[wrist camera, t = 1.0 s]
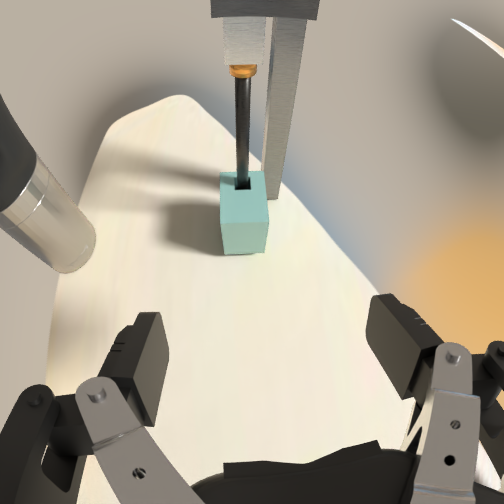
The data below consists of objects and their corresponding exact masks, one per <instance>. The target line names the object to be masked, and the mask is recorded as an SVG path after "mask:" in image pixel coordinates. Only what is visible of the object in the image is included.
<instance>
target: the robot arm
mask: <svg viewBox="0 0 504 504" xmlns="http://www.w3.org/2000/svg"><path fill="white" fill-rule="evenodd" d="M0 228H2V229H3V230H4V231H5V232H6V233H8V234H9V235H10V236H11V237H12V238H14V239H15V240H16V241H18V242H19V243H20V244H22V245H23V246H24V247H25V248H26V249H28V250H29V251H30V252H32V253H33V254H34V255H36V256H37V257H38V258H40V259H41V260H42V261H44V262H45V263H46V264H48V265H49V266H51V267H52V268H53V269H55V270H56V271H58V272H60V273H71V272H73V271H76V270H78V269H79V268H81V267H82V266H83V265H84V264H85V263H86V262H87V260H88V259H89V258H90V256H91V254H92V252H93V250H94V247H95V241H96V234H95V230H94V227H93V226H92V224H91V223H90V222H89V221H88V219H87V218H86V217H85V216H84V215H83V213H82V212H81V211H80V209H79V208H78V207H77V206H76V205H75V203H74V202H73V201H72V200H71V198H70V197H69V196H68V195H67V193H66V192H65V191H64V189H63V188H62V187H61V185H60V184H59V183H58V182H57V180H56V179H55V178H54V176H53V175H52V174H51V172H50V171H49V170H48V168H47V167H46V166H45V164H44V163H43V162H42V160H41V159H40V157H39V156H38V155H37V153H36V152H35V150H34V149H33V147H32V146H31V145H30V143H29V142H28V140H27V139H26V138H25V136H24V134H23V133H22V131H21V130H20V128H19V127H18V125H17V123H16V122H15V121H14V119H13V117H12V115H11V114H10V112H9V110H8V108H7V106H6V105H5V103H4V101H3V99H2V96H1V95H0ZM366 339H367V342H368V344H369V346H370V348H371V349H372V351H373V353H374V354H375V356H376V357H377V359H378V361H379V362H380V364H381V366H382V367H383V369H384V371H385V372H386V374H387V376H388V377H389V379H390V381H391V382H392V384H393V386H394V387H395V389H396V391H397V392H398V394H399V396H400V398H401V399H402V400H404V399H407V398H411V397H414V398H415V402H414V404H413V407H412V411H411V415H410V419H409V422H408V426H407V429H406V433H405V436H404V439H403V442H402V445H401V448H400V450H396V449H381V448H380V446H379V443H378V441H377V440H374V441H371V442H367V443H363V444H359V445H355V446H351V447H347V448H342V449H340V450H338V451H336V452H334V453H331V454H329V455H327V456H324V457H322V458H320V459H317V460H315V461H312V462H310V463H306V464H296V463H282V462H271V461H252V462H235V463H223V467H224V473H220V474H216V475H213V476H210V477H207V478H205V479H203V480H200V481H199V482H197V483H195V484H193V485H192V486H189V485H188V484H187V483H186V481H185V480H184V479H183V478H182V477H181V475H180V474H179V473H178V472H177V471H176V469H175V468H174V467H173V465H172V464H171V463H170V462H169V460H168V459H167V458H166V456H165V455H164V454H163V452H162V451H161V450H160V448H159V447H158V446H157V444H156V443H155V441H154V440H153V439H152V437H151V436H150V434H149V433H148V431H147V430H146V429H145V427H144V426H148V427H154V425H155V420H156V415H157V411H158V406H159V401H160V397H161V392H162V388H163V383H164V379H165V375H166V370H167V366H168V362H169V347H168V342H167V338H166V334H165V330H164V326H163V321H162V317H161V314H160V313H159V312H140V313H139V314H138V316H137V318H136V320H135V322H134V324H133V325H127V326H126V327H125V328H124V329H123V330H122V331H120V332H119V333H118V335H117V337H116V339H115V341H114V344H113V345H112V347H111V349H110V352H109V353H108V355H107V357H106V359H105V361H104V363H103V365H102V368H101V370H100V372H99V374H98V376H97V377H94V378H91V379H88V380H86V381H85V382H83V383H82V384H81V385H80V386H79V387H78V389H77V391H76V394H69V395H62V396H54V394H53V392H52V390H51V389H50V388H49V387H48V386H46V385H41V384H38V385H33V386H30V387H28V388H27V389H25V390H24V391H23V392H22V393H21V395H20V396H19V398H18V400H17V402H16V403H15V405H14V407H13V409H12V411H11V413H10V415H9V417H8V419H7V421H6V423H5V425H4V427H3V429H2V431H1V433H0V504H76V503H77V497H78V493H79V488H80V483H81V479H82V474H83V470H84V466H85V462H86V458H87V455H94V454H95V456H96V458H97V461H98V463H99V465H100V467H101V469H102V471H103V473H104V475H105V477H106V478H107V480H108V482H109V484H110V486H111V488H112V489H113V491H114V493H115V495H116V497H117V498H118V500H119V502H120V503H121V504H504V410H503V409H502V407H501V406H500V404H499V403H498V401H497V400H496V398H497V396H498V395H499V393H500V391H501V390H503V391H504V342H502V341H493V342H491V343H490V344H489V346H488V348H487V351H486V353H485V354H470V352H469V351H468V350H467V349H466V348H465V347H464V346H462V345H460V344H457V343H452V342H447V343H444V342H443V340H442V339H441V338H440V337H439V336H438V335H437V334H436V333H435V332H434V331H433V330H432V329H431V327H430V326H429V325H428V324H426V322H425V321H424V320H423V319H422V318H421V317H420V316H419V315H418V313H417V312H415V310H414V309H412V308H410V307H408V306H406V305H405V304H401V303H400V302H399V301H398V300H397V298H396V297H395V296H394V295H393V294H391V293H390V294H382V295H375V296H373V297H372V299H371V302H370V308H369V314H368V320H367V325H366ZM479 440H480V441H481V443H482V445H483V447H484V449H485V450H486V452H487V454H488V456H489V458H490V460H491V462H492V463H493V465H494V467H495V469H496V471H497V473H498V475H499V477H500V479H501V488H500V489H499V490H498V491H497V490H494V489H492V488H489V487H486V486H484V485H481V484H479V483H476V482H474V476H475V470H476V462H477V454H478V444H479ZM46 445H48V447H47V450H46V453H45V456H44V459H43V462H42V465H41V460H42V457H43V454H44V451H45V448H46Z"/></svg>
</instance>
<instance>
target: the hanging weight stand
mask: <svg viewBox="0 0 504 504" xmlns="http://www.w3.org/2000/svg"><path fill="white" fill-rule="evenodd" d="M319 1H320V0H211V17H212V18H217V17H223V23H224V24H223V25H224V56H225V65H229V68H230V74H231V75H232V76H234V77H235V102H236V103H235V104H236V105H235V106H236V158H237V190H248V164H249V127H250V92H251V91H250V90H251V77H252V76H254V75H255V74H256V72H257V64H263V56H264V39H265V24H266V17H273V27H272V38H271V39H272V40H271V52H270V64H269V77H268V90H267V102H266V115H265V128H264V141H263V153H262V164H261V171H264V177H265V186H266V195H267V199H278V194H279V188H280V183H281V177H282V171H283V166H284V159H285V154H286V148H287V142H288V136H289V130H290V124H291V118H292V112H293V107H294V100H295V94H296V88H297V82H298V75H299V69H300V63H301V57H302V50H303V44H304V37H305V30H306V24H307V19H309V20H316V19H317V13H318V7H319Z"/></svg>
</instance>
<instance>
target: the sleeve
mask: <svg viewBox="0 0 504 504" xmlns="http://www.w3.org/2000/svg"><path fill="white" fill-rule="evenodd" d="M220 226H221V233H222V240H223V247H224V254H225V255H229V254H251V253H264V252H265V245H266V239H267V233H268V226H269V214H268V205H267V195H266V186H265V177H264V171H248V190H237V172H221V173H220Z"/></svg>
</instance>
